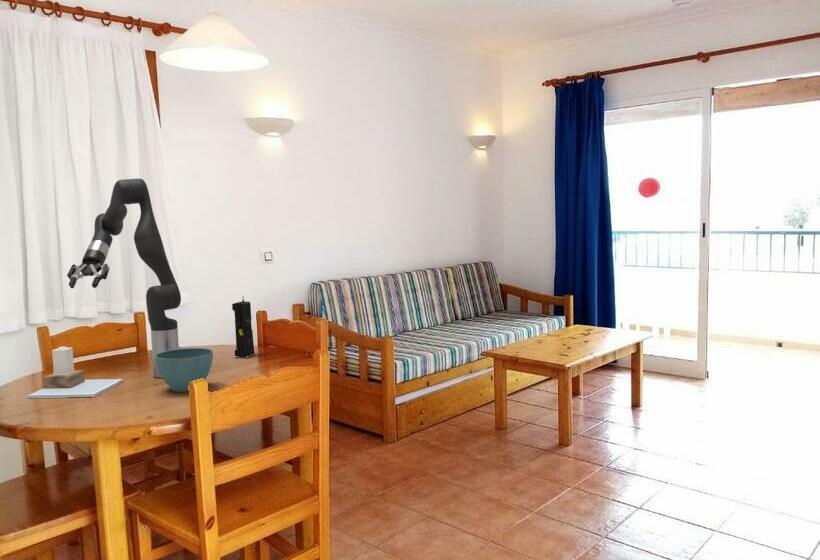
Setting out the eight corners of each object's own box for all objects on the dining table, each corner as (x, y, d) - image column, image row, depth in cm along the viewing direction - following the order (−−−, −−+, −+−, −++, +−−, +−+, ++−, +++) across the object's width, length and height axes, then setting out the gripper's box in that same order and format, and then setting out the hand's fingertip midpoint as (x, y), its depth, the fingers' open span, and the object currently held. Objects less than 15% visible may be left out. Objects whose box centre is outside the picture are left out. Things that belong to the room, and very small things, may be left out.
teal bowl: (184, 380, 226) (182, 346, 225) (226, 384, 219) (224, 349, 218) (145, 393, 210) (143, 356, 208) (189, 398, 203) (186, 360, 201)
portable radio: (247, 359, 260) (244, 298, 257) (233, 358, 261) (230, 298, 258) (255, 354, 267) (252, 295, 265) (242, 354, 268) (239, 295, 266)
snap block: (74, 371, 222) (72, 345, 221) (66, 374, 217) (64, 348, 216) (61, 371, 222) (59, 346, 221) (53, 374, 217) (51, 348, 217)
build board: (123, 381, 226) (122, 367, 226) (93, 397, 206) (92, 382, 206) (62, 382, 227) (61, 368, 227) (27, 398, 207) (26, 383, 207)
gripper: (74, 248, 247) (59, 280, 237) (110, 247, 247) (96, 280, 236) (82, 261, 253) (68, 293, 243) (117, 260, 252) (105, 292, 242)
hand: (82, 286), depth 239 cm, fingers open, 8 cm apart
